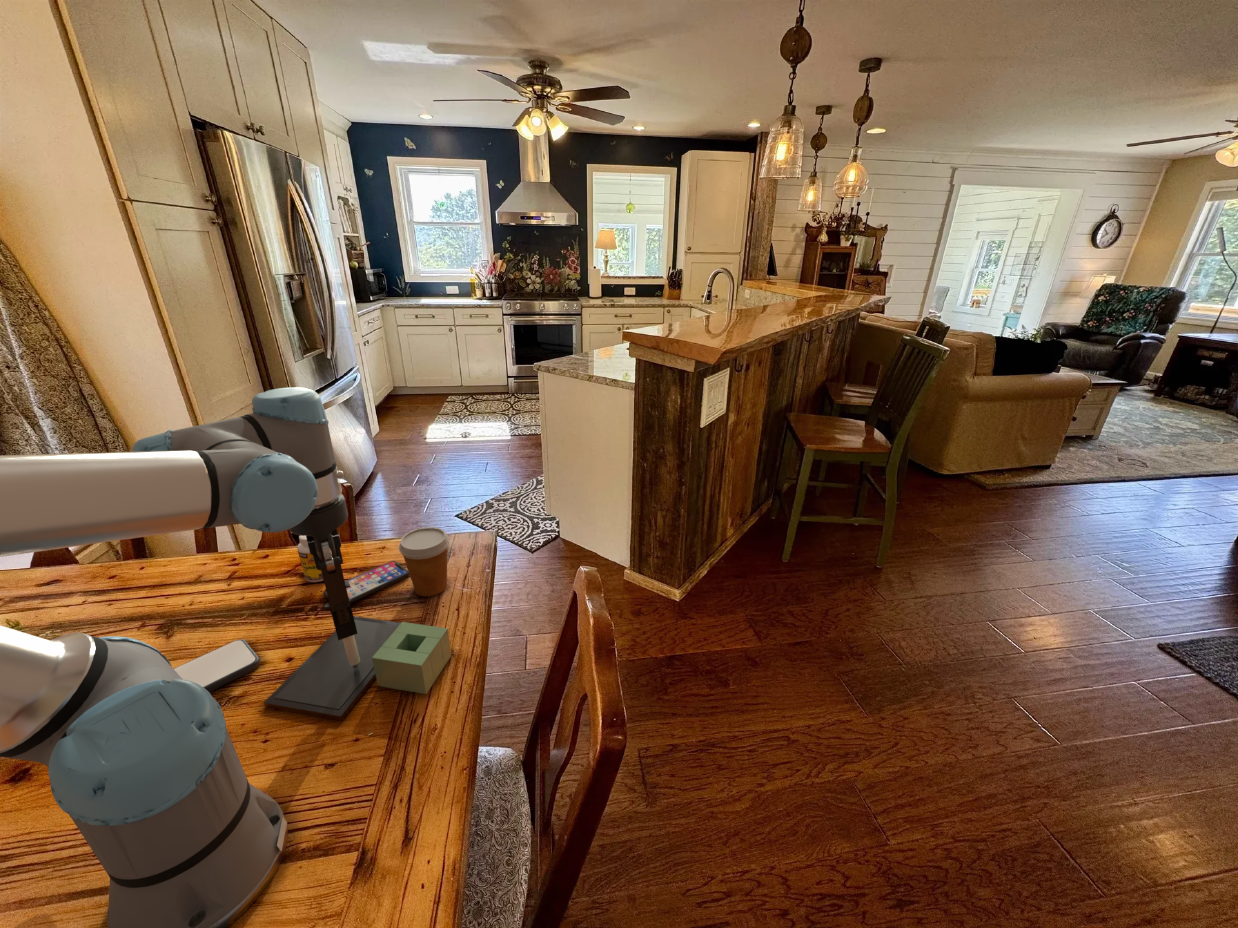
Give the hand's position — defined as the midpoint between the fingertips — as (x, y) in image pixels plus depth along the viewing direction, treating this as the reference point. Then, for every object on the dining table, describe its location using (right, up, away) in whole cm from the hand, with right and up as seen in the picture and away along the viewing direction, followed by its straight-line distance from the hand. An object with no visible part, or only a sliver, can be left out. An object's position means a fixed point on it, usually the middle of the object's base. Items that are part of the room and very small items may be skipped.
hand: (346, 631), depth 78 cm
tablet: (-3, -7, +5) cm, 9 cm away
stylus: (0, -7, +3) cm, 7 cm away
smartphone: (-9, +1, +25) cm, 26 cm away
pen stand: (+9, -8, +4) cm, 13 cm away
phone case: (-25, -9, +1) cm, 26 cm away
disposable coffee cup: (+4, +1, +25) cm, 25 cm away
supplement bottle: (-21, +2, +28) cm, 35 cm away
